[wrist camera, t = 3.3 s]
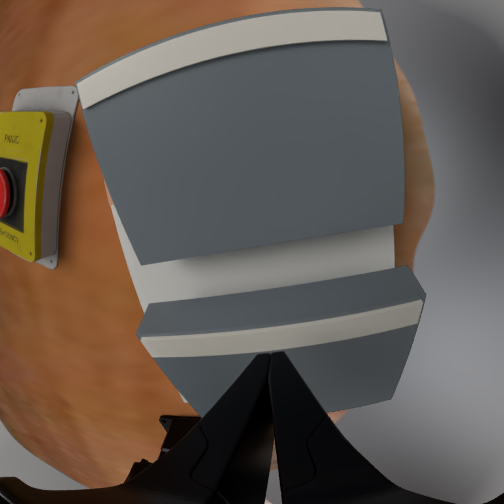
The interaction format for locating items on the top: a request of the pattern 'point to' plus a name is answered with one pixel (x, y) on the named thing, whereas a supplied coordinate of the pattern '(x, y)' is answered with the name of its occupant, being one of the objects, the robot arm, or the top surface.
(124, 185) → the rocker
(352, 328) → the block
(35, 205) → the emergency button
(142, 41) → the top surface
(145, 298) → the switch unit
